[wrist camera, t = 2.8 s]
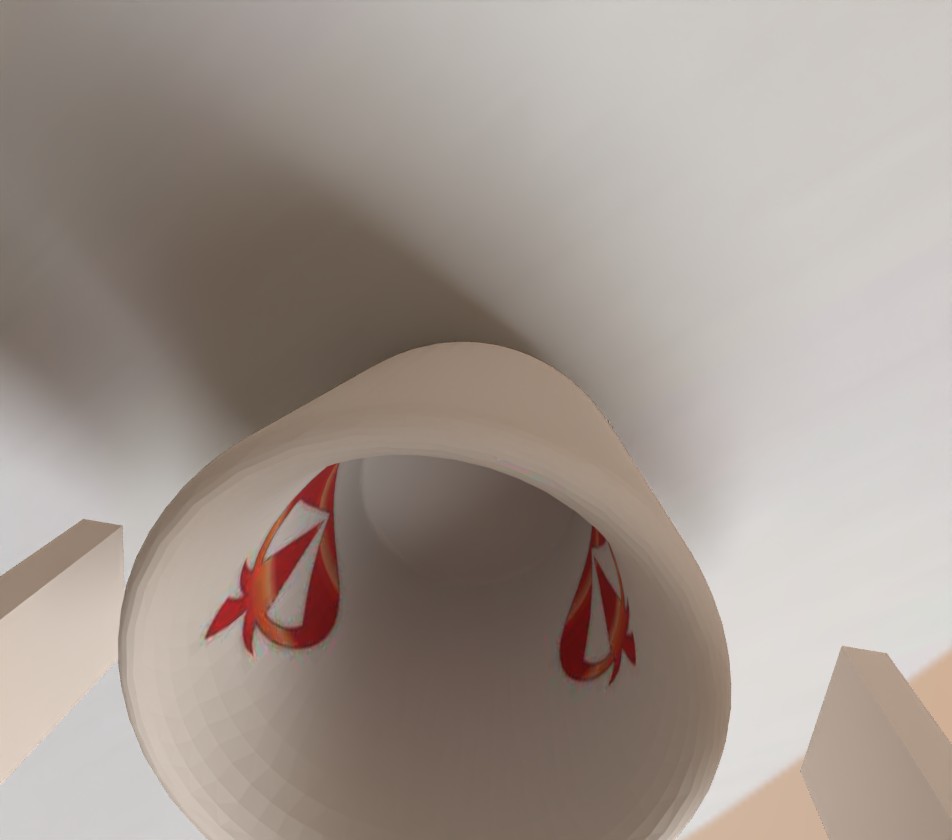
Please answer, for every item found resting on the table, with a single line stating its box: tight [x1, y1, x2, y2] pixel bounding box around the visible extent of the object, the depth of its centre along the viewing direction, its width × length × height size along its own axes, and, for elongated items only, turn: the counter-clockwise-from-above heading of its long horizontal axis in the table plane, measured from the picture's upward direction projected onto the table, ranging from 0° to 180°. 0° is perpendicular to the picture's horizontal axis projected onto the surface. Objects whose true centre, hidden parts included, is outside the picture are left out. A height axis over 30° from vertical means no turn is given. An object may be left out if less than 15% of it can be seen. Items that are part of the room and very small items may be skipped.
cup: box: [118, 342, 731, 840], centre depth 13 cm, size 11×8×8 cm
